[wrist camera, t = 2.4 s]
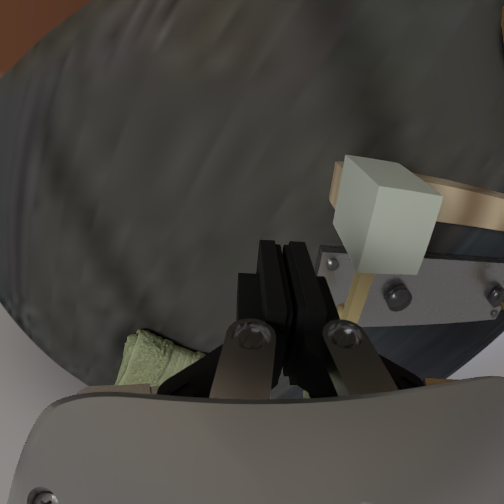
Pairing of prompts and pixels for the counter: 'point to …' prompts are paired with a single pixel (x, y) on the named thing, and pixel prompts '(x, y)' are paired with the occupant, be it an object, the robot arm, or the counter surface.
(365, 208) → the block
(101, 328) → the counter surface
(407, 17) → the counter surface
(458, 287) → the bolt plate
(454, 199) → the rail
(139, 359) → the washcloth
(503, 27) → the potato
